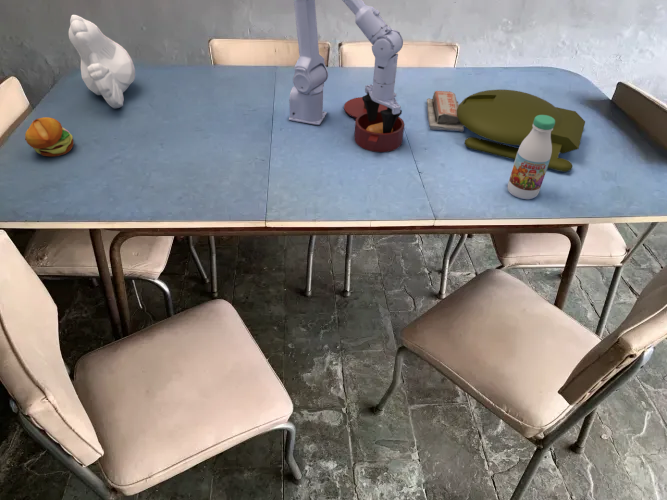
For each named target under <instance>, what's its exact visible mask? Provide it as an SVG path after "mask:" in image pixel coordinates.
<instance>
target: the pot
mask: <svg viewBox="0 0 667 500" xmlns="http://www.w3.org/2000/svg"><path fill="white" fill-rule="evenodd" d="M383 110H384V109H383ZM354 122H355V123H354V137H353V138H354V142H355V144H356V145H357V146H359V148H361V149H364V150H367V151H370V152H375V153H387V152H392V151H395V150H397V149H399V148H400V147H401V146H402V145H403V140H404V132H405V125H406V124H405V122H404V119H402V117H400V116H399V117H398V118H397V120H396V121H395V123H394V125H393V132H391V133H374V132H370V131H367V130H366V129H367V127H368V126H370V125H374V124H378V123H382V122H383V120H382V115H381V113H380V111H378V113H377V118H376V121H372V122H369V121H368V116H367V112H366V113H363V114H361V115H359V116H358V117H357V118H355V121H354Z"/></svg>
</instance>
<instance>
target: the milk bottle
mask: <svg viewBox="0 0 667 500" xmlns="http://www.w3.org/2000/svg"><path fill="white" fill-rule="evenodd" d="M554 125H555V119H554V118H552V117H550V116H547V115H538V116H536V117H535V119H534V122H533V129H532V130H531V132H530V133H529V134H528V136H527V137H526V138H525V139H524V140H523V141H522V143H521V145H519V147H518V148H519V149H518V152H517V155H516V158H515V160H514V162H513V165H512V169H511V171H510V176H509V179H508V181H507V191H508V193H510V194H511V195H512V196H513V197H516V198H518V199H522V200H532V199H534V198H536V197H537V196H538V195H539V193H540V190H541V188H542V185H543V182H544V180H545V177H546V173H547V171H548V168H547V167H548V164H549V161H550V158H551V153H552V144H551V131H552V130H553V127H554Z"/></svg>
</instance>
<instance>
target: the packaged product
mask: <svg viewBox="0 0 667 500" xmlns="http://www.w3.org/2000/svg"><path fill="white" fill-rule="evenodd" d="M459 104H460V103H459V101H458V100H457V96H456V93H454V92H452V91H445V90H434V92H433V95H432V98H426V106H427V119H428V126H429V130H432V131H433V130H434V131H435V130H436V131H457V132H462V133H463V132H464V130H465V126H464V125H463V124H462V123H461V122H460V121H459V119H458V116H457V108H458V106H459Z"/></svg>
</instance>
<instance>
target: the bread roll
mask: <svg viewBox="0 0 667 500" xmlns="http://www.w3.org/2000/svg"><path fill="white" fill-rule="evenodd" d="M366 130H367V131H370V132H374V133H383V122H382V123H378V124H374V125H370V126H368V127H367V129H366ZM391 132H393V128H392V130H391Z"/></svg>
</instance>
